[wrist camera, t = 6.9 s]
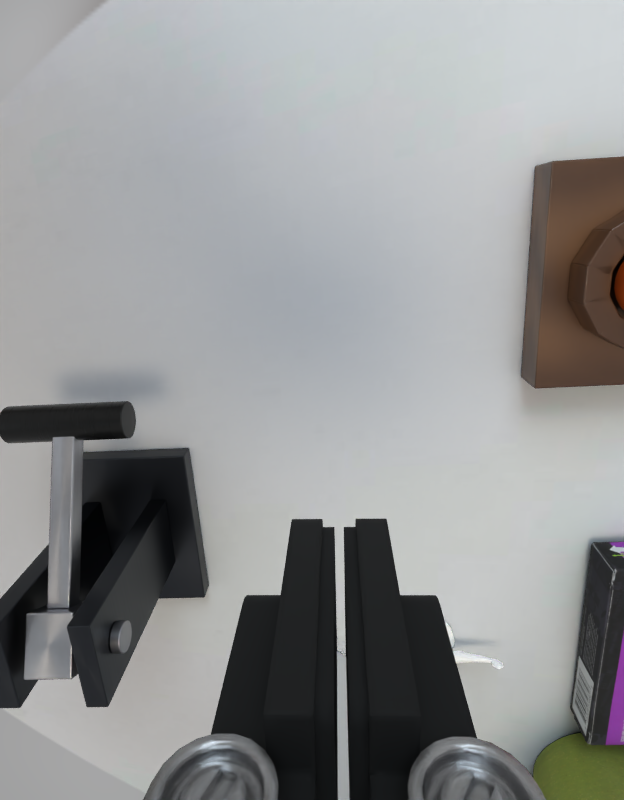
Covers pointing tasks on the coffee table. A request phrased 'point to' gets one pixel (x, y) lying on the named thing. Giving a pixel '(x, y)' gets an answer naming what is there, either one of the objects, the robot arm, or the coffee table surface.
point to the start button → (620, 286)
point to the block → (575, 275)
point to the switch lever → (62, 517)
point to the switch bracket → (114, 568)
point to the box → (602, 649)
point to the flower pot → (580, 770)
